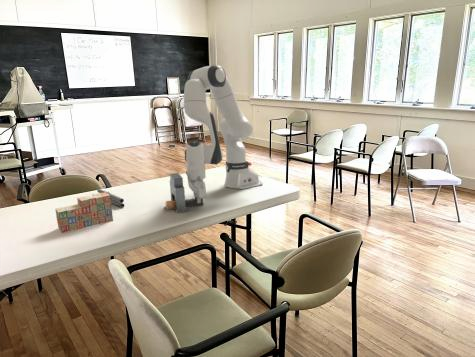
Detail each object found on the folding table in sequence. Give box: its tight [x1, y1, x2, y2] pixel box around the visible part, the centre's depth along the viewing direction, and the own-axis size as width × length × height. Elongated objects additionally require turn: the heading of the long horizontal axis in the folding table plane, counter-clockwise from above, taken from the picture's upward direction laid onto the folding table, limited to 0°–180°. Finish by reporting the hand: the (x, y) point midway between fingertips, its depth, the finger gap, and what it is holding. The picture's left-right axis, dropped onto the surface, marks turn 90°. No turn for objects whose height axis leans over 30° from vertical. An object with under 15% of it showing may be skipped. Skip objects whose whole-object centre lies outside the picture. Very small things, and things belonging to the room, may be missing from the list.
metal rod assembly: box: [96, 188, 125, 208], centre depth 182 cm, size 26×3×5 cm, turn 45°
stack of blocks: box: [55, 191, 114, 234], centre depth 152 cm, size 21×6×12 cm, turn 127°
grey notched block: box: [169, 172, 187, 214], centre depth 171 cm, size 4×15×16 cm, turn 21°
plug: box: [166, 198, 204, 210], centre depth 173 cm, size 18×4×4 cm, turn 111°
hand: (197, 201), depth 176 cm, fingers closed on plug, 2 cm apart
